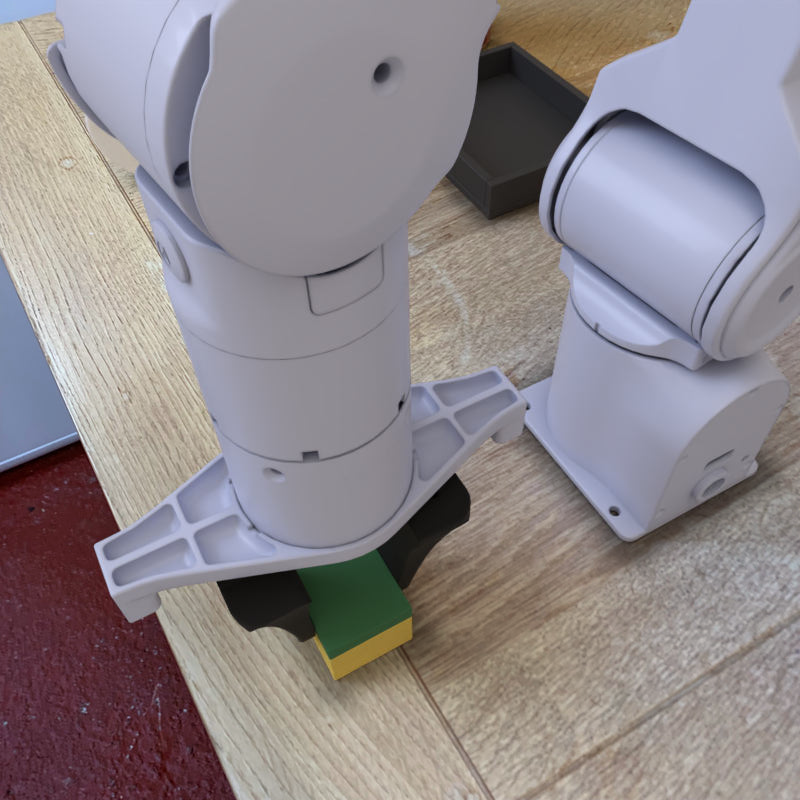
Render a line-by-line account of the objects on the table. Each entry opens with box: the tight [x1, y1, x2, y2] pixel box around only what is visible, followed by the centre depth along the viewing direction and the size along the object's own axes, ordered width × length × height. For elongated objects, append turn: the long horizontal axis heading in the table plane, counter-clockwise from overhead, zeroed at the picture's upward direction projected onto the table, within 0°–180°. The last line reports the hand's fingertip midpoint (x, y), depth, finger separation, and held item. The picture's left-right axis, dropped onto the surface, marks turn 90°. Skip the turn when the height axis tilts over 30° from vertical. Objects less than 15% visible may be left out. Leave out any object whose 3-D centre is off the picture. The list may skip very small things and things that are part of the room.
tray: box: [444, 41, 590, 220], centre depth 55 cm, size 14×11×2 cm
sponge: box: [296, 549, 413, 681], centre depth 33 cm, size 5×4×3 cm
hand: (345, 594), depth 33 cm, fingers closed on sponge, 3 cm apart
